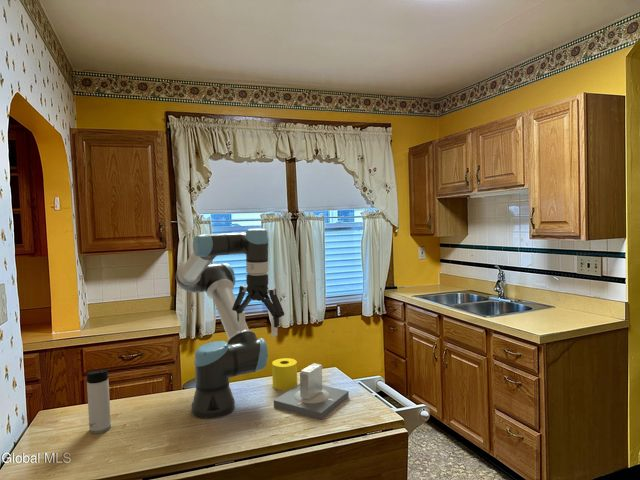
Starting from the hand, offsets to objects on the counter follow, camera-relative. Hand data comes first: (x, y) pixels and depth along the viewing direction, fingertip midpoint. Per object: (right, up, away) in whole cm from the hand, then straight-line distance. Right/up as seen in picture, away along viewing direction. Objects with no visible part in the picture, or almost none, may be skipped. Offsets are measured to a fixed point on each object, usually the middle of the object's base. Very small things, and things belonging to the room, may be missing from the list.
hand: (258, 333), depth 152 cm
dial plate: (+19, -27, +8) cm, 34 cm away
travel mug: (-50, -30, -10) cm, 59 cm away
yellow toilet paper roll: (+8, -26, +24) cm, 37 cm away
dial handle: (+19, -24, +8) cm, 31 cm away
